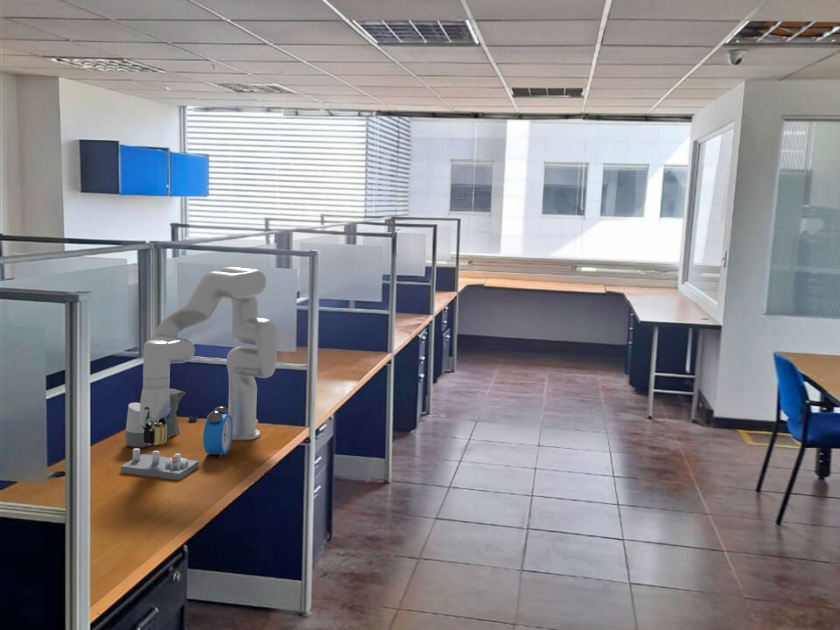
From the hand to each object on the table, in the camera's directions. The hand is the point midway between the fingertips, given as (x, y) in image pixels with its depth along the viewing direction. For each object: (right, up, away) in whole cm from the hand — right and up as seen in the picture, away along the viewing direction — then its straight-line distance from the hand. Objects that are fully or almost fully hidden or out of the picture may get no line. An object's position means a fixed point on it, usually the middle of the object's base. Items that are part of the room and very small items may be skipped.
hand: (155, 439), depth 236 cm
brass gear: (0, -1, 0) cm, 1 cm away
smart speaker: (-13, -6, +23) cm, 27 cm away
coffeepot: (-10, -4, +37) cm, 38 cm away
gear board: (+1, -9, +1) cm, 10 cm away
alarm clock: (+14, -8, +19) cm, 25 cm away
